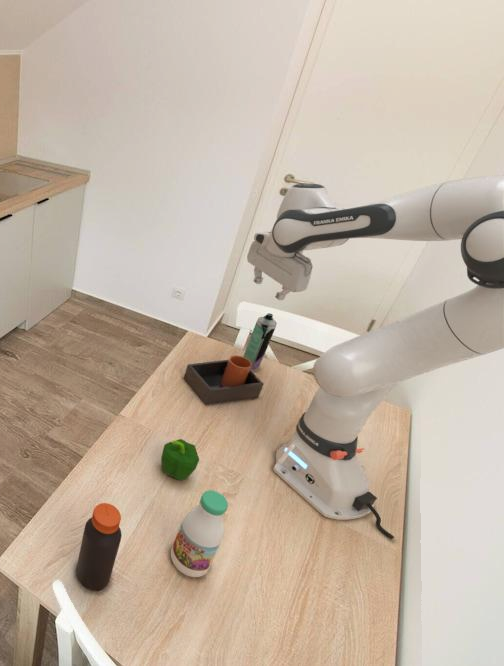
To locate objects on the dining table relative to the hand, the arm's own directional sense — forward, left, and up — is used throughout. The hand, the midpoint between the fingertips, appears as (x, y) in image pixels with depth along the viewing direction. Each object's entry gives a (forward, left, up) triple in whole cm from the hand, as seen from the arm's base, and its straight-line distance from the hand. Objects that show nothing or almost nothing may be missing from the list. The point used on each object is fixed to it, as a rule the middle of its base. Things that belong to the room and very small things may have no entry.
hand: (267, 290), depth 133 cm
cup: (-4, +4, -31) cm, 31 cm away
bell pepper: (-31, +38, -31) cm, 58 cm away
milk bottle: (-53, +47, -31) cm, 77 cm away
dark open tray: (-4, +8, -31) cm, 32 cm away
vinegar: (-52, +68, -31) cm, 91 cm away
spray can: (+4, -8, -31) cm, 33 cm away
